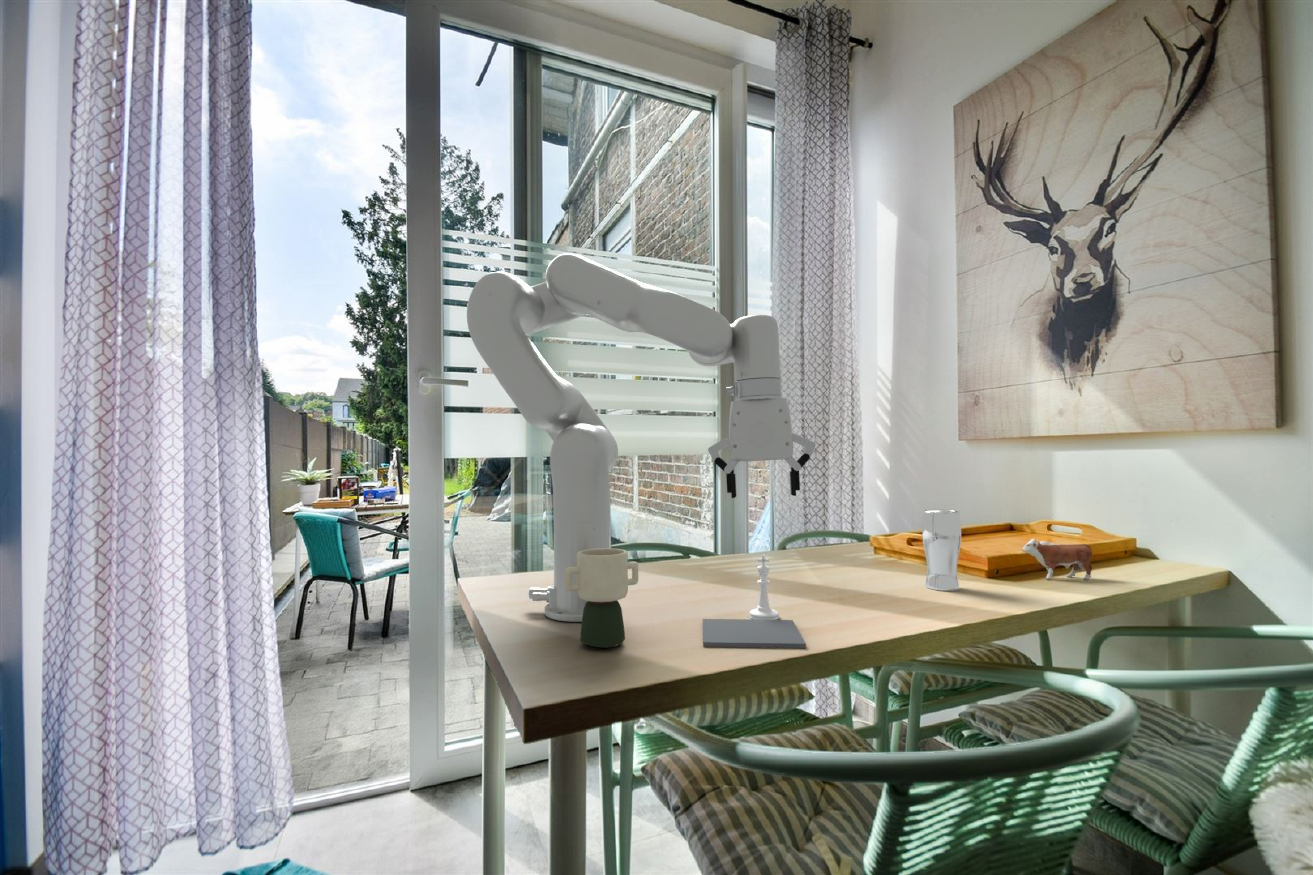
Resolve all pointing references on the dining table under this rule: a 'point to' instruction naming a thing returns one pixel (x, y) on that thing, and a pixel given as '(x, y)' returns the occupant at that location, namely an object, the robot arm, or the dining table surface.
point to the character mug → (602, 593)
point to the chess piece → (763, 596)
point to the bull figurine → (1061, 556)
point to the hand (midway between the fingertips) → (763, 496)
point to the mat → (751, 633)
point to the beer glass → (941, 548)
